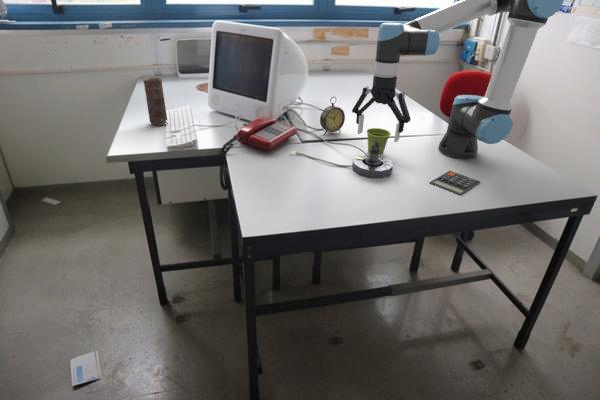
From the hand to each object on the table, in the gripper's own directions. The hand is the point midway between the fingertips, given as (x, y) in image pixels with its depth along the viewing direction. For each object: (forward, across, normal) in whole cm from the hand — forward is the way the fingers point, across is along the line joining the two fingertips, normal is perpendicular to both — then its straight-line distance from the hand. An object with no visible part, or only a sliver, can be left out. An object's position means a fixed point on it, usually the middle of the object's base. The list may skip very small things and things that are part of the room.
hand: (377, 136), depth 143 cm
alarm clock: (+13, +31, -24) cm, 41 cm away
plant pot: (+13, +6, -16) cm, 21 cm away
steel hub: (+13, +1, 0) cm, 13 cm away
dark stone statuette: (+13, 0, 0) cm, 13 cm away
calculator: (+14, -27, -7) cm, 32 cm away
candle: (+11, +97, +14) cm, 98 cm away
